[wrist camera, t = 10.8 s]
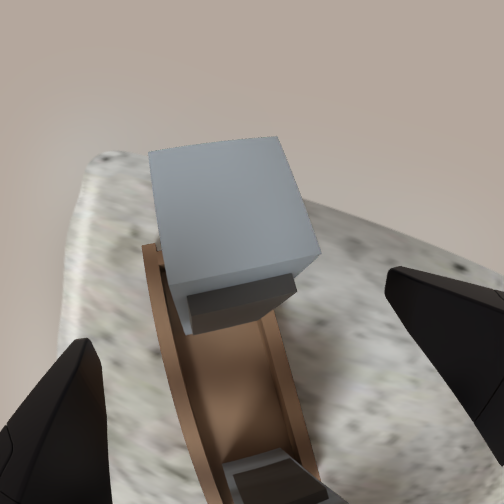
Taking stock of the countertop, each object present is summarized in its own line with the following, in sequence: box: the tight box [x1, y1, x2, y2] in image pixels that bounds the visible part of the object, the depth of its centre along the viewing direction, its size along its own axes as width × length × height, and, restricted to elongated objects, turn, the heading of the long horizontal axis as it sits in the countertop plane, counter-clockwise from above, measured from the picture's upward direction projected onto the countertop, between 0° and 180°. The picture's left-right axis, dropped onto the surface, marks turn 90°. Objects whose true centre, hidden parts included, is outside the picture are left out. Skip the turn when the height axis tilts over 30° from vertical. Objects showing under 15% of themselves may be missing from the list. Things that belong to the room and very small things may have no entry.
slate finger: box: [148, 136, 321, 335], centre depth 14 cm, size 5×4×13 cm
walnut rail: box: [142, 243, 349, 504], centre depth 14 cm, size 19×7×11 cm, turn 15°
